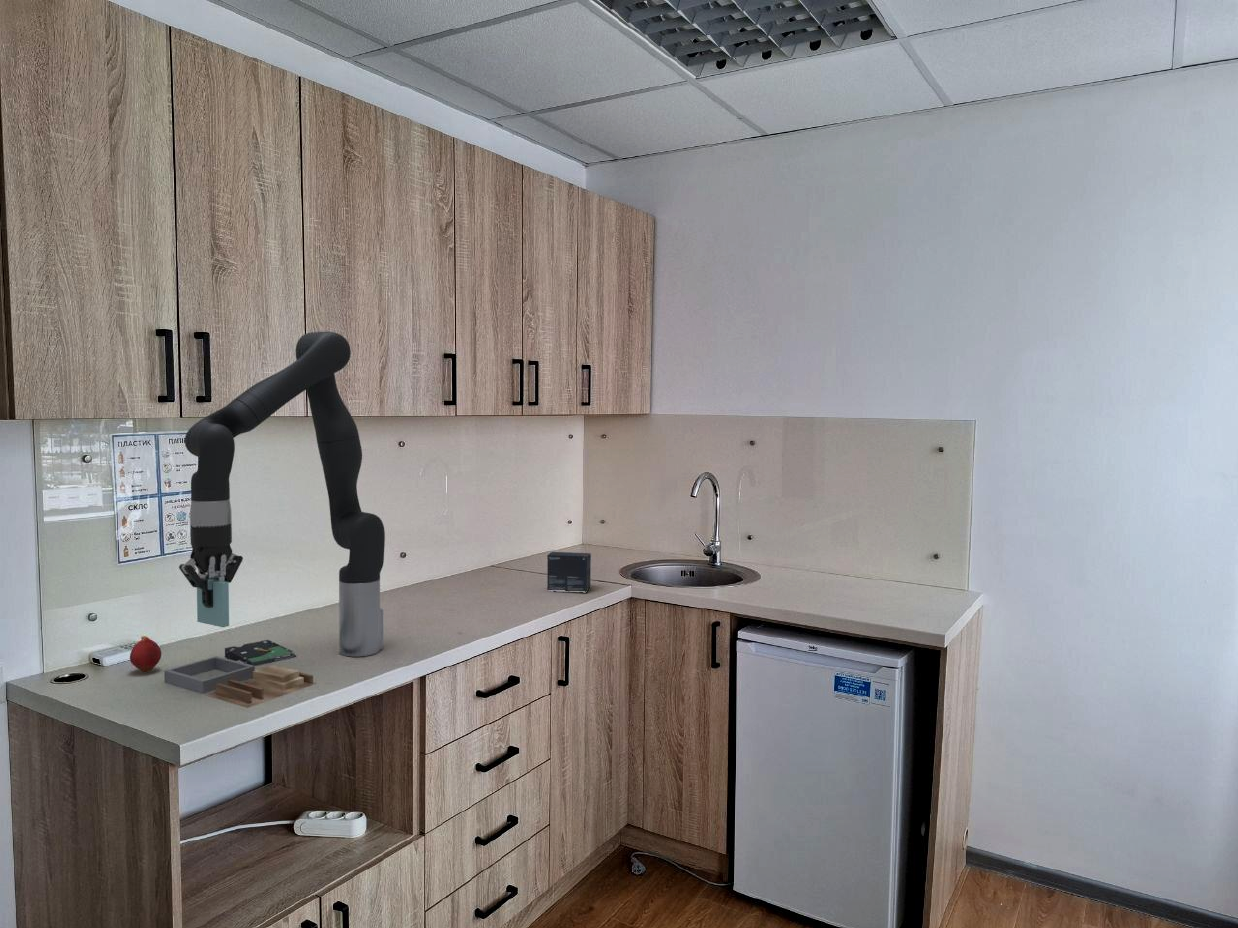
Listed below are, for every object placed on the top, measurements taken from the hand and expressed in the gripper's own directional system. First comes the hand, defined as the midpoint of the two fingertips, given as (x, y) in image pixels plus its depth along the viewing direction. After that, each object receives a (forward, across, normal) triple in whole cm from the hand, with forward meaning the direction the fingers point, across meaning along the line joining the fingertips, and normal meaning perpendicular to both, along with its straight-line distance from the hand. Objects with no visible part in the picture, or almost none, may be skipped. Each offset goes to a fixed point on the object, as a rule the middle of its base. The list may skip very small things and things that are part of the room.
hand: (212, 606), depth 167 cm
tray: (+17, 0, -2) cm, 17 cm away
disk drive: (+18, -17, -7) cm, 26 cm away
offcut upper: (+15, -6, +12) cm, 19 cm away
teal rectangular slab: (+4, 0, 0) cm, 4 cm away
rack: (+17, -2, +12) cm, 21 cm away
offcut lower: (+16, -6, +12) cm, 21 cm away
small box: (+18, -115, +16) cm, 117 cm away
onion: (+17, +1, -21) cm, 27 cm away
